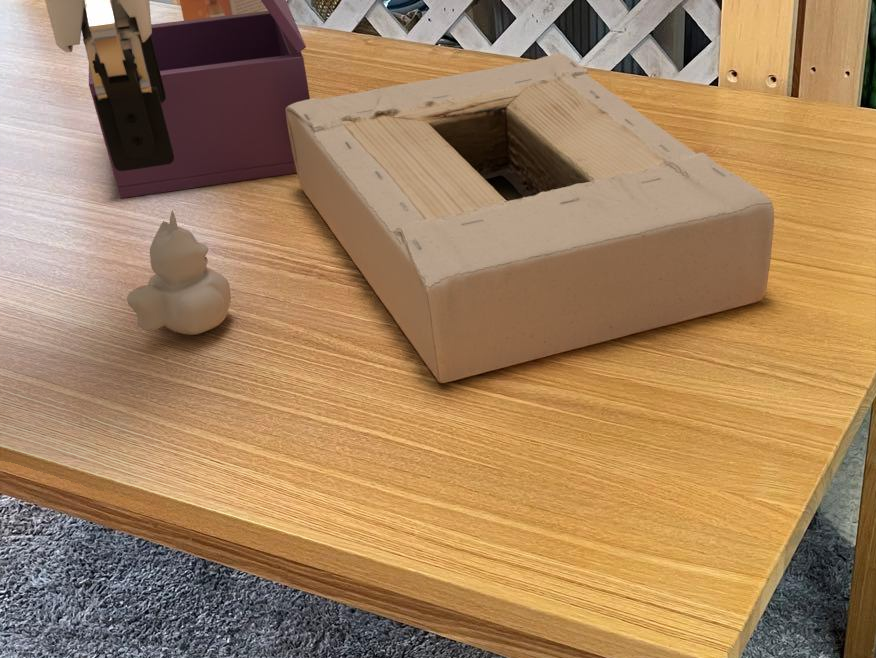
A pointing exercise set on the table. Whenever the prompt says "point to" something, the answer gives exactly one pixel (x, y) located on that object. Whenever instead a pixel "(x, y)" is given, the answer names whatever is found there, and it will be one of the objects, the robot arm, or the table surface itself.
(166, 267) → the rubber duck
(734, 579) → the table surface
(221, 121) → the box
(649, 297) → the box
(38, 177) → the table surface
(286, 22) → the lid
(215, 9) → the small box
